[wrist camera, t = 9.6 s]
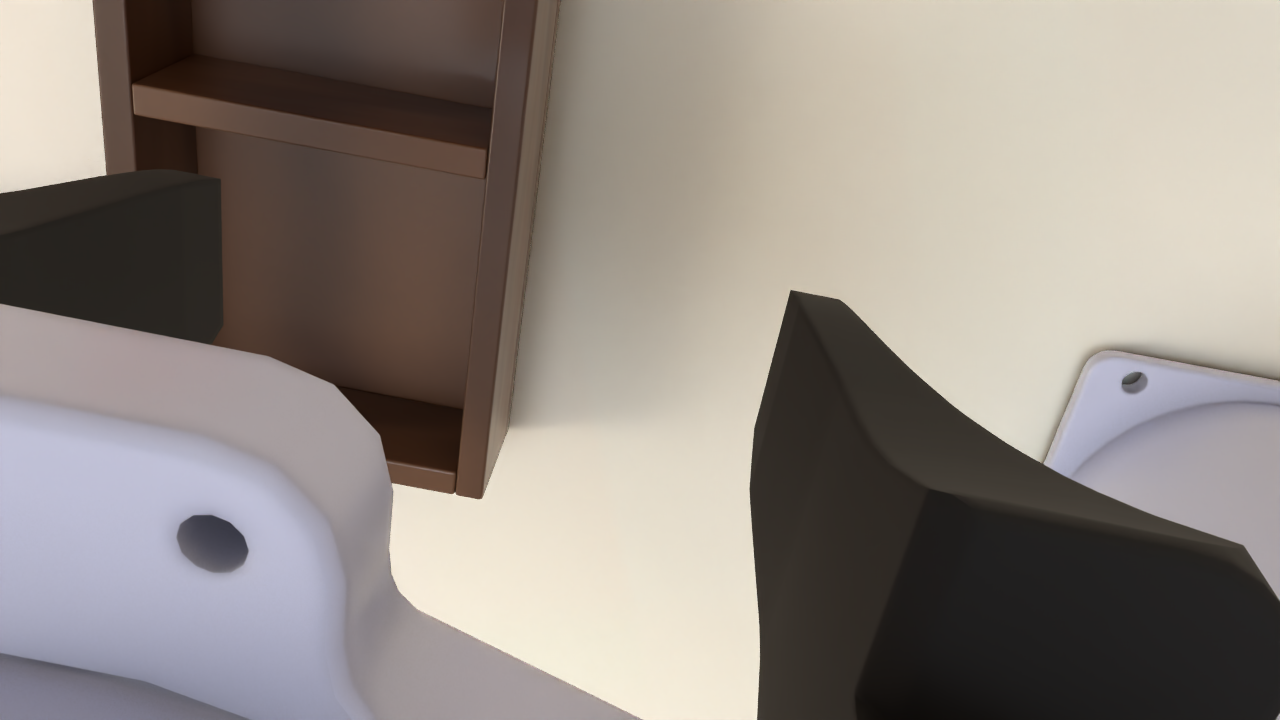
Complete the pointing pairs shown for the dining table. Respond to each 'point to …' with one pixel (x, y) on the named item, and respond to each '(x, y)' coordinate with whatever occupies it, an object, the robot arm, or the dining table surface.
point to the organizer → (356, 192)
